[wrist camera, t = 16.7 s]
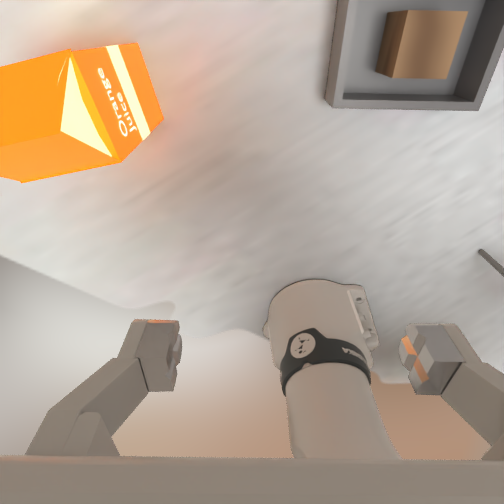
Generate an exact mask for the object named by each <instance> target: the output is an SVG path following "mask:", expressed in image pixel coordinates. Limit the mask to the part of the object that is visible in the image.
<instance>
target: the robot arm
mask: <svg viewBox="0 0 504 504" xmlns="http://www.w3.org/2000/svg"><path fill="white" fill-rule="evenodd" d="M358 297H359V298H358ZM179 328H180V327H179V322H178V321H176V320H151V319H150V320H146V319H143V320H142V319H135V320H134V321H133V322H132V323H131V325H130V328H129V330H128V333H127V335H126V338H125V340H124V342H123V345H122V347H121V350H120V352H119V354H118V357H117V358H113V359H111V360H110V361H108V362H107V363H106V364H105V365H104V366H102V367H101V368H100V369H99V370H98V371H96V372H95V373H94V374H93V375H91V376H90V377H89V378H88V379H87V380H85V381H84V382H83V383H82V384H80V385H79V386H78V387H77V388H75V389H74V390H73V391H72V392H71V393H69V394H68V395H67V396H66V397H64V398H63V399H62V400H61V401H60V402H59V403H57V404H56V405H55V406H53V407H52V408H51V409H50V410H49V411H48V413H47V414H46V416H45V418H44V420H43V422H42V424H41V426H40V428H39V429H38V431H37V433H36V435H35V437H34V439H33V440H32V442H31V444H30V446H29V448H28V450H27V452H26V453H25V455H0V504H504V374H503V373H501V372H500V371H498V370H497V369H495V368H494V367H492V366H491V365H489V364H488V363H482V361H481V360H480V358H479V357H478V355H477V354H476V353H475V351H474V350H473V348H472V347H471V345H470V344H469V342H468V341H467V339H466V338H465V337H464V335H463V334H462V332H461V331H460V329H459V328H458V327H457V326H456V325H455V324H437V323H410V324H409V325H407V327H406V329H405V332H406V334H407V335H406V336H405V337H404V338H402V339H401V341H400V344H399V356H400V359H401V362H402V364H403V366H404V367H406V368H407V369H408V370H409V371H410V372H409V375H408V378H409V380H410V382H411V384H412V387H413V389H414V391H415V393H416V394H421V395H441V397H442V398H443V399H444V400H445V401H446V402H447V403H448V404H449V405H450V406H451V407H452V408H453V409H454V410H455V411H456V412H457V413H458V414H459V415H460V416H461V417H462V418H463V419H464V420H465V421H466V422H468V424H469V425H471V427H473V428H474V429H475V430H476V431H477V432H478V433H479V434H480V435H481V436H482V437H483V438H484V439H485V440H486V441H487V442H488V443H489V444H490V445H491V447H490V448H489V449H488V450H487V451H486V452H485V453H484V455H483V456H482V458H481V459H482V460H407V459H406V460H405V459H402V458H401V456H400V455H399V453H398V452H397V450H396V449H395V447H394V446H393V444H392V442H391V440H390V438H389V436H388V434H387V431H386V429H385V426H384V424H383V421H382V419H381V416H380V413H379V410H378V408H377V405H376V402H375V399H374V396H373V394H372V391H371V388H370V384H371V378H370V369H371V368H372V367H373V365H374V362H373V359H372V356H371V353H370V352H371V351H373V350H374V349H375V348H376V347H379V339H378V335H377V332H376V328H375V325H374V322H373V318H372V315H371V311H370V308H369V305H368V301H367V298H366V295H365V291H364V288H363V287H362V286H358V285H341V284H337V283H334V282H331V281H327V280H305V281H301V282H297V283H295V284H292V285H290V286H288V287H286V288H284V289H283V290H282V291H280V292H279V293H278V294H277V295H276V296H275V297H274V299H273V300H272V302H271V304H270V307H269V316H268V321H267V322H266V324H265V325H264V327H263V334H264V336H265V337H266V338H268V339H269V340H270V344H271V351H272V357H273V363H274V365H275V367H277V368H278V369H279V370H280V373H281V374H280V381H281V385H282V390H283V394H284V395H285V397H286V402H287V403H286V404H287V415H288V427H289V438H290V448H291V451H292V454H293V456H294V458H228V457H227V458H226V457H221V458H220V457H136V456H120V454H119V452H118V450H117V448H116V446H115V444H114V442H113V440H112V438H111V436H112V435H113V434H114V433H115V432H116V431H117V429H118V428H119V427H120V426H121V425H122V424H123V422H124V421H125V420H126V419H127V418H128V416H129V415H130V414H131V413H132V412H133V411H134V409H135V408H136V407H137V406H138V405H139V404H140V403H141V401H142V400H143V399H144V398H145V397H146V395H147V394H148V392H151V391H152V392H159V391H173V390H174V386H175V382H176V377H177V370H176V366H177V365H178V364H179V363H180V359H181V352H182V339H181V336H180V335H179V334H178V332H179Z"/></svg>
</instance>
